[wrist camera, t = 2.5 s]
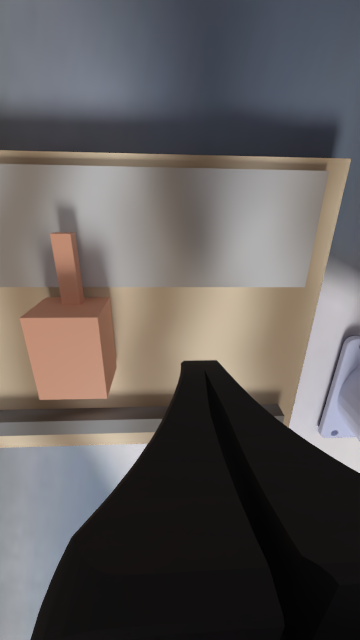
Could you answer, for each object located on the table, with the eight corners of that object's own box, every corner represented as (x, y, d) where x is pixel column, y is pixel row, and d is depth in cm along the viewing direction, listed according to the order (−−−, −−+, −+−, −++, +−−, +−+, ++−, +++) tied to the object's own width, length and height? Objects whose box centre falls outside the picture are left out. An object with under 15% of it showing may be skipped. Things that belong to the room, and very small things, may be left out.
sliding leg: (103, 231, 12) (88, 238, 9) (116, 367, 14) (107, 398, 12) (33, 231, 11) (-1, 237, 9) (60, 368, 14) (39, 399, 12)
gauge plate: (330, 163, 13) (398, 147, 9) (276, 422, 19) (303, 474, 15) (-315, 148, 11) (-548, 121, 8) (-139, 432, 18) (-220, 492, 14)
